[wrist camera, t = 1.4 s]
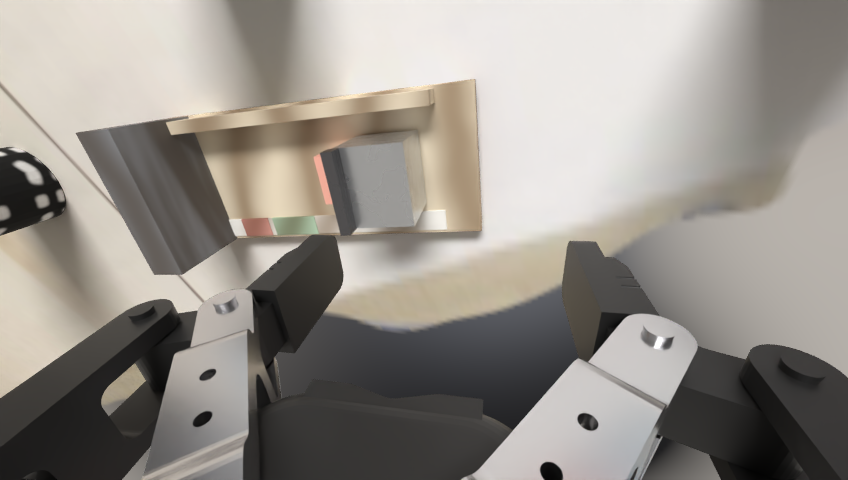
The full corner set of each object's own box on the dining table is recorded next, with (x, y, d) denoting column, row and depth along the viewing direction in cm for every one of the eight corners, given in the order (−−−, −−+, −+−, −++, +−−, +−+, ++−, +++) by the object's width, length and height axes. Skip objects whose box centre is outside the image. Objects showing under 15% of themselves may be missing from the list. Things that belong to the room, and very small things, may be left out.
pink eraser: (352, 148, 28) (341, 154, 26) (362, 193, 30) (352, 203, 28) (326, 150, 29) (313, 156, 26) (337, 195, 30) (325, 204, 28)
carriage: (417, 129, 26) (397, 145, 21) (426, 202, 29) (411, 233, 23) (354, 135, 27) (319, 152, 22) (368, 205, 30) (340, 235, 24)
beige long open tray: (475, 79, 25) (467, 83, 18) (482, 223, 31) (478, 273, 23) (174, 117, 31) (75, 132, 24) (223, 232, 37) (154, 274, 29)
